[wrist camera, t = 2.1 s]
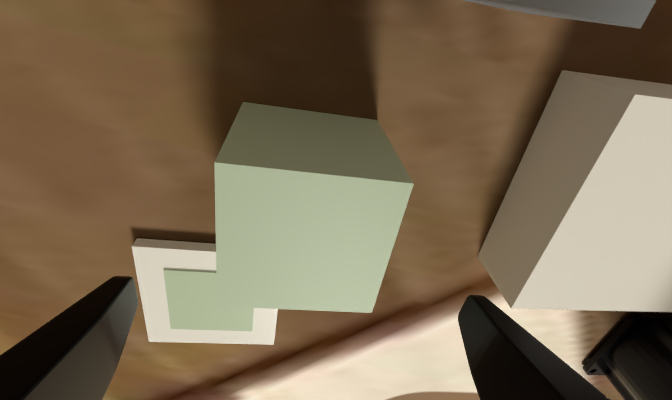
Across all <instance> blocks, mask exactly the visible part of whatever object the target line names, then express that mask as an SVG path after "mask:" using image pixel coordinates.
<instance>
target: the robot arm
mask: <svg viewBox="0 0 672 400" xmlns="http://www.w3.org/2000/svg"><path fill="white" fill-rule="evenodd" d="M137 306H138V298H137V292H136V287H135V282H134V279H133V278H132V277H127V276H114V277H112V278H110V279H109V280H108V281H106V282H105V283H103V284H102V285H100V286H99V287H98V288H96V289H95V290H93V291H92V292H90V293H89V294H87V295H86V296H85V297H83V298H82V299H80V300H79V301H77V302H76V303H75V304H73V305H72V306H70V307H69V308H67V309H66V310H65V311H63V312H62V313H60V314H59V315H57V316H56V317H55V318H53V319H52V320H50V321H49V322H47V323H46V324H45V325H43V326H42V327H40V328H39V329H37V330H36V331H35V332H33V333H32V334H30V335H29V336H27V337H26V338H25V339H23V340H22V341H20V342H19V343H17V344H16V345H15V346H13V347H12V348H10V349H9V350H7V351H6V352H4V353H3V354H2V355H0V400H102V399H103V397H104V395H105V393H106V390H107V388H108V386H109V384H110V382H111V380H112V378H113V375H114V373H115V371H116V368H117V365H118V363H119V360H120V357H121V354H122V351H123V348H124V345H125V342H126V339H127V336H128V333H129V330H130V328H131V325H132V322H133V319H134V316H135V313H136V310H137ZM458 322H459V326H460V330H461V334H462V339H463V343H464V347H465V351H466V355H467V359H468V363H469V367H470V371H471V374H472V377H473V380H474V383H475V386H476V389H477V392H478V395H479V397H480V400H610V399H609V398H606V396H605V395H604V394H603V393H601V392H600V391H599V390H598V389H597V388H595V387H594V386H593V385H592V384H590V383H589V382H588V381H587V380H586V379H584V378H583V377H582V376H581V375H580V374H578V373H577V372H576V371H575V370H573V369H572V368H571V367H570V366H569V365H567V364H566V363H565V362H564V361H562V360H561V359H560V358H559V357H558V356H556V355H555V354H554V353H553V352H552V351H550V350H549V349H548V348H547V347H545V346H544V345H543V344H542V343H541V342H539V341H538V340H537V339H536V338H534V337H533V336H532V335H531V334H530V333H528V332H527V331H526V330H525V329H524V328H522V327H521V326H520V325H519V324H517V323H516V322H515V321H514V320H513V319H511V318H510V317H509V316H508V315H507V314H505V313H504V312H503V311H502V310H500V309H499V308H498V307H497V306H496V305H494V304H493V303H492V302H491V301H489V300H488V299H487V298H486V297H484V296H481V295H470V296H468V297H467V299H466V301H465V302H464V304H463V306H462V308H461V310H460V312H459V315H458ZM583 370H584V371H585V372H586V374H587V375H606V377H607V378H608V379H609V380H610V382H611V383H612V384H613V386H614V387H615V388H616V389H617V391H618V392H619V393H620V394H621V396H622V397H623V398H624V400H672V314H656V313H634V314H631V315H630V316H628V317H627V318H626V319H625V321H624V322H623V323H622V324H621V325H620V326H619V327H618V328H617V329H616V331H615V332H614V333H613V334H612V335H611V336H610V337H609V338H608V339H607V341H606V342H605V343H604V344H603V345H602V346H601V347H600V348H599V349H598V351H597V352H596V353H595V354H594V355H593V356H592V357H591V358H590V359H589V361H588V362H587V363H586V364H585V365H584V366H583Z"/></svg>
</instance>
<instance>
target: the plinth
mask: <svg viewBox="0 0 672 400" xmlns="http://www.w3.org/2000/svg"><path fill="white" fill-rule="evenodd" d="M478 258H479V260H480V261H481V263H482V264H483V266H484V267H485V269H486V270H487V272H488V274H489V275H490V277H491V278H492V280H493V281H494V283H495V284H496V286H497V287H498V289H499V291H500V292H501V294H502V295H503V297H504V298H505V300H506V301H507V303H508V304H509V306H510V308H511V309H553V310H597V311H642V312H672V85H670V84H662V83H655V82H647V81H640V80H632V79H625V78H617V77H610V76H602V75H595V74H587V73H580V72H573V71H565V70H562V72H561V74H560V76H559V78H558V80H557V83H556V85H555V87H554V89H553V91H552V94H551V96H550V98H549V100H548V102H547V105H546V107H545V109H544V111H543V113H542V116H541V118H540V120H539V122H538V124H537V127H536V129H535V131H534V133H533V135H532V138H531V140H530V142H529V144H528V146H527V149H526V151H525V153H524V155H523V157H522V160H521V162H520V164H519V166H518V168H517V171H516V173H515V175H514V177H513V179H512V182H511V184H510V186H509V188H508V190H507V193H506V195H505V197H504V199H503V201H502V204H501V206H500V208H499V210H498V212H497V215H496V217H495V219H494V221H493V223H492V226H491V228H490V230H489V232H488V234H487V237H486V239H485V241H484V243H483V245H482V248H481V250H480V252H479V254H478Z"/></svg>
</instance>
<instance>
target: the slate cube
mask: <svg viewBox="0 0 672 400" xmlns="http://www.w3.org/2000/svg"><path fill="white" fill-rule="evenodd" d="M464 1H469V2H474V3H479V4H484V5H489V6H494V7H499V8H504V9H509V10H514V11H519V12H524V13H528V14H535V15H543V16H550V17H557V18H565V19H572V20H580V21H587V22H595V23H602V24H609V25H617V26H624V27H632V28H639V29H641V27H642V25H643V23H644V22H645V20H646V18H647V16H648V15H649V13H650V11H651V9H652V7H653V6H654V4H655V2H656V0H464Z"/></svg>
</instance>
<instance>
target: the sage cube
mask: <svg viewBox="0 0 672 400" xmlns="http://www.w3.org/2000/svg"><path fill="white" fill-rule="evenodd" d="M413 184H414V183H413V182H412V180H411V178H410V176H409V175H408V173H407V171H406V169H405V168H404V166H403V164H402V162H401V160H400V159H399V157H398V155H397V153H396V152H395V150H394V148H393V146H392V145H391V143H390V141H389V139H388V138H387V136H386V134H385V132H384V131H383V129H382V127H381V125H380V124H379V122H378V120H373V119H365V118H358V117H351V116H343V115H336V114H329V113H321V112H314V111H307V110H299V109H292V108H285V107H277V106H270V105H263V104H255V103H248V102H243V103H242V105H241V107H240V109H239V112H238V114H237V116H236V118H235V120H234V122H233V124H232V126H231V128H230V131H229V133H228V135H227V137H226V139H225V141H224V143H223V145H222V148H221V150H220V152H219V154H218V156H217V158H216V160H215V220H216V278H217V306H220V307H244V308H268V309H293V310H317V311H341V312H365V313H372V311H373V307H374V304H375V301H376V298H377V295H378V292H379V289H380V286H381V283H382V280H383V277H384V274H385V270H386V267H387V264H388V261H389V258H390V255H391V252H392V249H393V246H394V243H395V240H396V237H397V234H398V230H399V227H400V224H401V221H402V218H403V215H404V212H405V209H406V206H407V203H408V200H409V197H410V193H411V190H412V187H413Z"/></svg>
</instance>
